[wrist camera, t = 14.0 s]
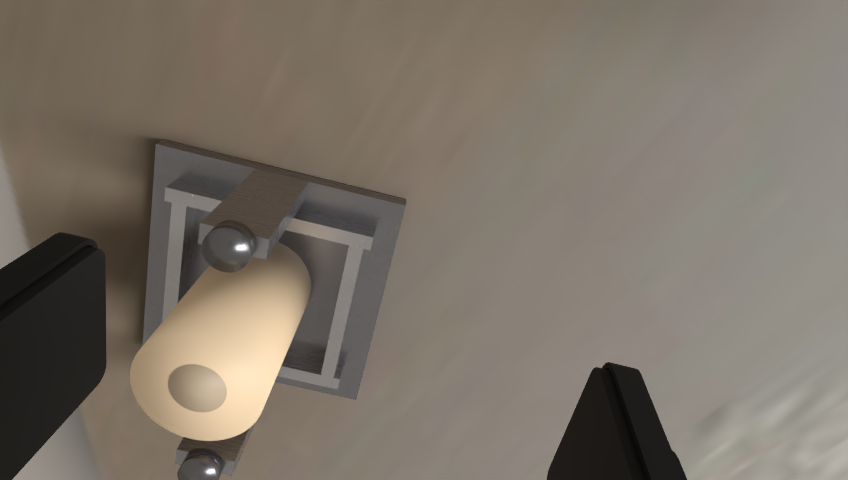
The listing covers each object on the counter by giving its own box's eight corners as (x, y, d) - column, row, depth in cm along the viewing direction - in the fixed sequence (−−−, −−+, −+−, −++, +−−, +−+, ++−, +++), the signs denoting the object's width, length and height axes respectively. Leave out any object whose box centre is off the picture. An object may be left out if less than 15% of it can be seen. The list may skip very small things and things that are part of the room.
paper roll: (319, 250, 34) (273, 348, 25) (303, 334, 37) (255, 453, 28) (216, 226, 34) (132, 317, 25) (207, 313, 36) (126, 426, 27)
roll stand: (408, 191, 34) (394, 269, 25) (356, 395, 40) (329, 519, 31) (164, 130, 33) (55, 188, 24) (148, 349, 39) (57, 462, 30)
